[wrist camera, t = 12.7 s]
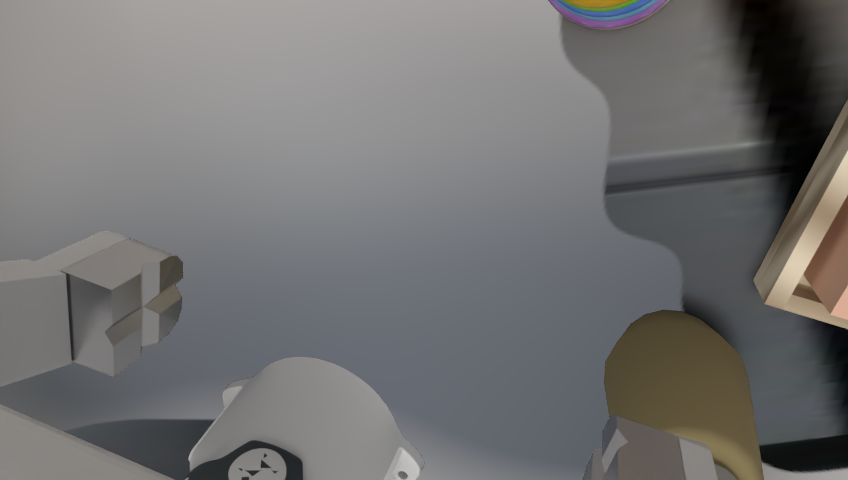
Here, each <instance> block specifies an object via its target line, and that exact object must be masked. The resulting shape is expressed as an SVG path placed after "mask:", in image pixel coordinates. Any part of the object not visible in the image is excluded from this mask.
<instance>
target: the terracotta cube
mask: <svg viewBox="0 0 848 480" xmlns="http://www.w3.org/2000/svg"><path fill="white" fill-rule="evenodd" d="M803 275H804V277H805V278H806V280H807V281H808V282H809V284H810V285H811V287H812V288H813V290H814V291H815V293H816V294H817V296H818V297H819V299H820V300H821V302H822V303H823V305H824V306H825V308H826V309H827V311H828V312H829V314H830V315H833V316H836V317H840V318H843V319H846V320H848V195H847V197H846V199H845V201H844V202H843V204H842V206H841V208H840V209H839V211H838V213H837V215H836V217H835V218H834V220H833V222H832V224H831V225H830V227H829V229H828V231H827V233H826V234H825V236H824V238H823V240H822V241H821V243H820V245H819V247H818V248H817V250H816V252H815V254H814V256H813V257H812V259H811V261H810V263H809V264H808V266H807V268H806V270H805V272H804V273H803Z"/></svg>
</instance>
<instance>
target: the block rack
mask: <svg viewBox="0 0 848 480" xmlns="http://www.w3.org/2000/svg"><path fill="white" fill-rule="evenodd" d="M847 195H848V99H847V101H846V103H845V105H844V107H843V109H842V111H841V113H840V114H839V116H838V118H837V120H836V122H835V124H834V126H833V128H832V130H831V132H830V134H829V136H828V137H827V139H826V141H825V143H824V145H823V147H822V149H821V151H820V153H819V155H818V157H817V159H816V160H815V162H814V164H813V166H812V168H811V170H810V172H809V174H808V176H807V178H806V180H805V182H804V183H803V185H802V187H801V189H800V191H799V193H798V195H797V197H796V199H795V201H794V203H793V205H792V206H791V208H790V210H789V212H788V214H787V216H786V218H785V220H784V222H783V224H782V226H781V228H780V229H779V231H778V233H777V235H776V237H775V239H774V241H773V243H772V245H771V247H770V249H769V251H768V252H767V254H766V256H765V258H764V260H763V262H762V264H761V266H760V268H759V270H758V272H757V274H756V275H755V277H754V279H753V281H754V283H755V285H756V288H757V290H758V292H759V294H760V296H761V298H762V300H763V302H764V304H767V305H770V306H773V307H777V308H780V309H783V310H786V311H790V312H793V313H796V314H800V315H803V316H806V317H810V318H813V319H816V320H820V321H823V322H826V323H830V324H833V325H836V326H840V327H843V328H846V329H848V320H846V319H843V318H840V317H836V316H833V315H830V314H829V312H828V311H827V309H826V308H825V306H824V305H823V303H822V302H821V300H820V299H819V297H818V296H817V294H816V293H815V291H814V290H813V288H812V287H811V285H810V284H809V282H808V281H807V280H806V278H805V277H804V275H803V273H804V272H805V270H806V268H807V266H808V264H809V263H810V261H811V259H812V257H813V256H814V254H815V252H816V250H817V248H818V247H819V245H820V243H821V241H822V240H823V238H824V236H825V234H826V233H827V231H828V229H829V227H830V225H831V224H832V222H833V220H834V218H835V217H836V215H837V213H838V211H839V209H840V208H841V206H842V204H843V202H844V201H845V199H846V197H847Z"/></svg>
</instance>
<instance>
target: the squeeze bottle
mask: <svg viewBox="0 0 848 480" xmlns="http://www.w3.org/2000/svg"><path fill="white" fill-rule="evenodd" d="M604 378H605V379H604V385H605V392H606V398H607V405H608V412H609V418H610V416H611V415H612V414H616V415H619V416H622V417H624V418H627V419H630V420H633V421H636V422H639V423H642V424H645V425H647V426H650V427H653V428H656V429H659V430H662V431H665V432H667V433H670V434H673V435H674V434H676V435H679V436H682V437H685V438H688V439H691V440H694V441H697V442H700V443H703V444H706V445H707V446H708V447H709V448H710V449H711V453H712V457H713V461H714V465H715V469H716V473H717V477H718V480H764V477H763V470H762V464H761V457H760V451H759V444H758V438H757V432H756V425H755V419H754V412H753V406H752V399H751V393H750V387H749V380H748V376H747V373H746V370H745V367H744V364H743V362H742V359H741V356H740V354H739V353H738V352H737V351H736V350H735V349H734V348H733V347H732V346H731V345H730V344H729V343H728V342H727V341H726V340H725V339H724V338H723V337H722V336H720V335H719V334H718V333H717V332H715V331H714V330H713V329H712V328H710V327H709V326H708V325H707V324H705V323H704V322H703V321H702V320H700V319H699V318H696V317H694V316H692V315H689V314H687V313H685V312H682V311H670V310H661V311H657V312H653V313H649V314H645V315H643V316H642V317H640V318H639V319H638V320H636V321H635V322H633V323H632V324H630V326H629V327H628V329H627V330H626V331H625V333H624V334H623V335H622V337H621V338H620V339H619V341H618V342H617V343H616V345H615V347H614V348H613V350H612V352H611V353H610V355H609V357H608V358H607V360H606V362H605V377H604Z"/></svg>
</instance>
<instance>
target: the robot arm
mask: <svg viewBox="0 0 848 480" xmlns="http://www.w3.org/2000/svg"><path fill="white" fill-rule="evenodd" d="M182 278H183V262H182V261H181V260H180V259H179V257H178V256H176V255H173V254H171V253H168V252H165V251H163V250H160V249H158V248H155V247H152V246H150V245H147V244H145V243H142V242H140V241H137V240H134V239H131V238H129V237H126V236H124V235H121V234H118V233H115V232H112V231H101V232H99V233H97V234H94V235H92V236H90V237H88V238H85V239H83V240H81V241H79V242H77V243H75V244H73V245H70V246H68V247H65V248H63V249H61V250H59V251H57V252H54V253H52V254H50V255H48V256H45V257H43V258H41V259H39V260H37V261H35V262H34V261H31V260H28V259H23V260H13V261H3V262H0V387H2V386H5V385H8V384H11V383H14V382H17V381H20V380H23V379H26V378H29V377H32V376H35V375H38V374H41V373H44V372H48V371H51V370H54V369H57V368H59V367H63V366H66V365H69V364H71V363H72V361H73V362H75V363H78V364H81V365H84V366H86V367H89V368H92V369H94V370H97V371H100V372H102V373H105V374H108V375H111V376H113V377H114V376H115V375H117V374H118V373H119V372H121V371H122V370H123V369H125V368H126V367H127V366H129V365H130V364H131V363H133V362H134V361H135V360H137V359H138V358H139V357H140V356H141V354H142V347H143V346H146V345H151V344H155V343H159V342H160V341H161V340H162V339H164V338H165V337H166V336H167V335H169V333H170V332H171V331H172V329H173V327H174V326H175V325H176V323H177V322H178V319H179V316H180V312H181V309H182V297H181V295H180V293H179V291H178V289H177V287H176V284H177V283H178V282H179V281H180V280H181V279H182ZM222 399H223V405H224V410H223V411H222V412H221V413H220V415H219V416H218V417H217V418H216V420H215V421H214V422H213V423H212V425H211V426H210V427H209V428H208V430H207V431H206V432H205V434H204V435H203V436H202V437H201V439H200V440H199V441H198V443H197V444H196V445H195V446H194V448H193V449H192V451H191V452H190V455H189V458H188V460H189V461H190V473H189V474H188V475H187V476H186V478H185V479H184V480H417V478H418V476H419V475H420V473H421V471H422V469H423V468H424V460H423V457H422V456H421V454H420V453H419V452H418V451H417V450H416V449H415V447H414V446H413V445H412V444H411V443H410V442H409V441H408V440H407V439H405V437H404V436H403V435H402V433H401V432H400V430H399V428H398V426H397V424H396V422H395V419H394V417H393V415H392V413H391V412H390V410H389V408H388V407H387V405H386V404H385V402H384V401H383V400H382V399H381V397H380V396H379V395H378V394H377V393H376V392H375V391H374V390H373V389H372V388H371V387H370V386H369V385H368V384H367V383H366V382H364V381H363V380H362V379H361V378H359V377H358V376H356V375H355V374H353V373H352V372H350V371H348V370H346V369H345V368H343V367H341V366H338V365H336V364H334V363H331V362H327V361H325V360H321V359H317V358H311V357H289V358H284V359H280V360H277V361H275V362H273V363H271V364H269V365H267V366H266V367H265V368H263V369H262V370H261V371H260V372H259V373H258V374H257V375H255V376H254V377H252V378H248V379H242V380H237V381H234V382H231V383H230V384H229V385H228V386H227V388H226V389H225V390H224V392H223V394H222ZM0 480H174V479H172V478H170V477H167V476H165V475H163V474H161V473H158V472H156V471H154V470H151V469H149V468H147V467H144V466H142V465H140V464H137V463H135V462H133V461H130V460H128V459H126V458H123V457H121V456H119V455H117V454H114V453H112V452H110V451H107V450H105V449H103V448H100V447H98V446H96V445H93V444H91V443H89V442H86V441H84V440H82V439H79V438H77V437H75V436H73V435H70V434H68V433H66V432H63V431H61V430H58V429H56V428H54V427H52V426H49V425H47V424H45V423H42V422H40V421H38V420H35V419H33V418H31V417H28V416H26V415H24V414H22V413H19V412H17V411H14V410H12V409H10V408H8V407H5V406H3V405H1V404H0ZM582 480H718V477H717V473H716V469H715V465H714V461H713V457H712V453H711V449H710V448H709V447H708V446H707V445H706V444H703V443H700V442H697V441H694V440H691V439H688V438H685V437H682V436H679V435H676V434H674V435H673V434H670V433H667V432H665V431H662V430H659V429H656V428H653V427H650V426H647V425H645V424H642V423H639V422H636V421H633V420H630V419H627V418H624V417H622V416H619V415H616V414H612V415H611V416H610V418H609V419H608V420H607V423H606V425H605V427H604V429H603V431H602V447H601V448H598V449H596V450H594V451H593V453H592V455H591V457H590V459H589V461H588V464H587V466H586V469H585V473H584V476H583V479H582Z"/></svg>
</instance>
